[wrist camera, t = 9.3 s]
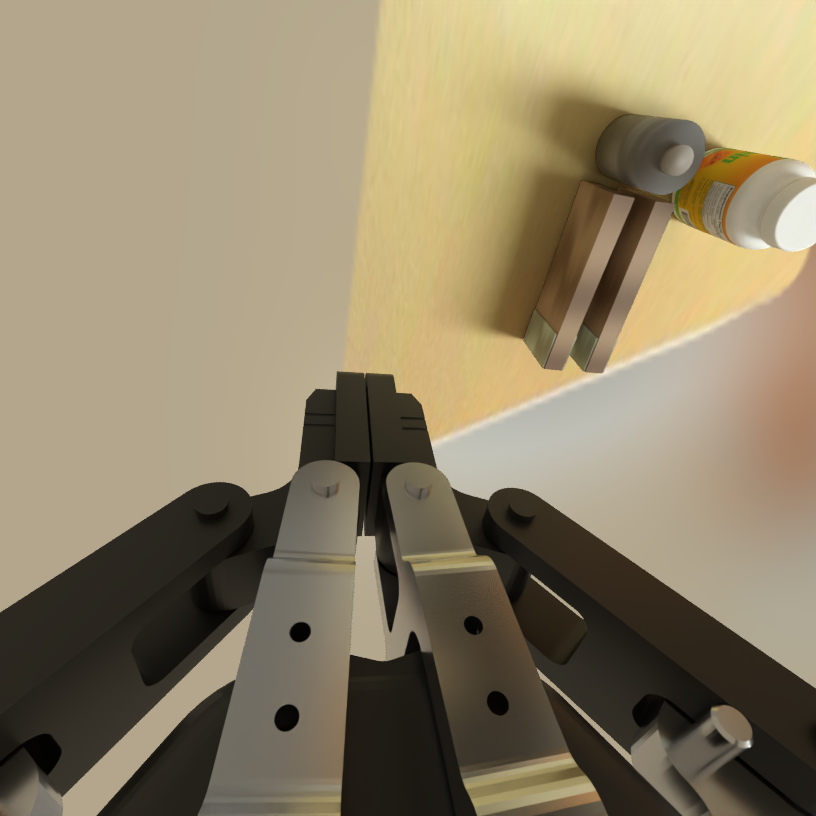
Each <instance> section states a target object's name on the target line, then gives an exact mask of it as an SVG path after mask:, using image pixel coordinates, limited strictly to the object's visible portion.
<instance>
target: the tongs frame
mask: <svg viewBox="0 0 816 816" xmlns="http://www.w3.org/2000/svg"><path fill="white" fill-rule="evenodd" d="M705 146H706V143H705V136H704V133H703V131H702V129H701V128H700V127H699V126H698V125H697V124H696V123H694V122H692V121H688V120H680V119H671V118H661V117H652V116H643V115H634V114H628V115H624V116H621V117H619V118H617V119H615V120H614V121H613V122H612V123H610V124H609V125H608V126H607V127H606V129H605V130H604V131H603V133H602V135H601V136H600V138H599V141H598V143H597V147H596V155H595V156H596V164H597V167H598V169H599V170H600V172H601V173H602V174H603V175H605V176H606V177H608V178H611V179H614V180H617V181H619V182H622V183H625V184H628V185H631V186H633V187H636V188H639V189H642V190H644V191H647V192H650V193H653V194H657V195H666V194H670V193H673V192H675V191H677V190H679V189H680V188H682V187H683V186H685V185H686V184H687V183H688V182H689V181H690V180H691V179H692V178H693V176H694V175H695V174H696V172H697V171H698V169H699V167H700V165H701V163H702V160H703V157H704V154H705ZM618 192H621V193H623V194H626V195H628V196H631V197H634V198H635V199H634V202H633V204H632V206H631V209H630V211H629V213H628V216H627V218H626V220H625V223H624V225H623V227H622V230H621V232H620V234H619V237H618V239H617V242H616V244H615V246H614V249H613V251H612V253H611V256H610V258H609V260H608V263H607V265H606V267H605V270H604V272H603V274H602V277H601V279H600V282H599V284H598V286H597V289H596V291H595V293H594V296H593V298H592V300H591V303H590V305H589V307H588V310H587V312H586V315H585V317H584V319H583V322H582V324H581V326H580V329H579V331H578V333H577V338H576V341H575V343H574V345H573V348H572V350H571V352H570V356H571V357H572V359H573V360H574V361H575V362H576V363H577V365H578V366H579V367H580V368H581V369H582V371H585V372H591V373H603V372H604V370H605V368H606V365H607V363H608V361H609V359H610V356H611V354H612V352H613V349H614V347H615V345H616V343H617V338H618V336H619V334H620V331H621V329H622V327H623V324H624V322H625V320H626V318H627V315H628V313H629V311H630V309H631V306H632V304H633V302H634V299H635V297H636V295H637V293H638V290H639V288H640V286H641V283H642V281H643V279H644V277H645V274H646V272H647V270H648V267H649V265H650V263H651V261H652V258H653V256H654V254H655V251H656V249H657V247H658V245H659V242H660V240H661V238H662V235H663V233H664V231H665V229H666V226H667V224H668V222H669V219H670V217H671V215H672V213H673V210H674V208H675V206H676V204H674V203H671V202H668V201H666V200H663V199H660V198H658V197H655V196H652V195H649V194H647V193H644V192H641V191H638V190H634V189H627V188H620V187H619V188H618Z"/></svg>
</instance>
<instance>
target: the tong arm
mask: <svg viewBox="0 0 816 816" xmlns="http://www.w3.org/2000/svg"><path fill="white" fill-rule="evenodd" d="M634 199H635V198H634V197H631V196H628V195H626V194H623V193H621V192H618V191H616V190H613V189H611V188H608V187H606V186H603V185H601V184H596V183H591V182H586V181H581V183H580V186H579V189H578V192H577V194H576V197H575V200H574V203H573V206H572V208H571V211H570V214H569V217H568V220H567V222H566V225H565V228H564V231H563V234H562V236H561V239H560V242H559V245H558V248H557V250H556V253H555V256H554V259H553V262H552V264H551V267H550V270H549V273H548V276H547V278H546V281H545V284H544V287H543V290H542V292H541V295H540V298H539V301H538V304H537V306H536V309H534V312H533V314H532V317H531V320H530V323H529V326H528V328H527V331H526V334H525V337H524V340H523V341H524V342H525V344H526V345H527V347H528V348H529V350H530V351H531V352H532V354H533V355H534V357H535V358H536V360H537V361H538V362H539V364H540V365H541V367H542V368H544V369H551V370H560V371H562V370H563V369H564V366H565V364H566V362H567V359H568V357H569V355H570V352H571V350H572V348H573V345H574V343H575V341H576V338H577V333H578V331H579V329H580V326H581V324H582V322H583V319H584V317H585V315H586V312H587V310H588V307H589V305H590V303H591V300H592V298H593V296H594V293H595V291H596V289H597V286H598V284H599V282H600V279H601V277H602V274H603V272H604V270H605V267H606V265H607V263H608V260H609V258H610V256H611V253H612V251H613V249H614V246H615V244H616V242H617V239H618V237H619V234H620V232H621V230H622V227H623V225H624V223H625V220H626V218H627V216H628V213H629V211H630V209H631V206H632V204H633V202H634Z"/></svg>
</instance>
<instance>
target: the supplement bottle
mask: <svg viewBox="0 0 816 816" xmlns="http://www.w3.org/2000/svg"><path fill="white" fill-rule="evenodd" d="M672 203H674V204H676V206H675V208H674V210H673V211H674V214H675V216H676V217H677V218H678V219H679V220H680V221H681V222H683V223H684V224H686V225H688V226H690V227H693V228H695V229H698V230H700V231H703V232H705V233H708V234H710V235H713V236H715V237H717V238H720V239H722V240H725V241H727V242H730V243H732V244H734V245H737V246H739V247H742V248H746V249H753V250H757V249H765V248H769V247H774V248H778V249H781V250H784V251H789V252H793V251H800V250H803V249H806V248H808V247H810V246H812V245H813V244H815V243H816V173H815V171H814V170H813V169H812V168H811V167H810V166H809V165H808V164H806V163H804V162H801V161H798V160H793V159H788V158H782V157H776V156H770V155H764V154H758V153H752V152H747V151H741V150H736V149H730V148H715V149H711V150H708V151H706V152H705V154H704V157H703V160H702V163H701V165H700V167H699V169H698V171H697V172H696V174H695V175H694V176H693V178H692V179H691V180H690V181H689V182H688V183H687V184H686V185H685V186H683V187H682V188H680V189H679V190H677V191H675V192H673V193H672Z"/></svg>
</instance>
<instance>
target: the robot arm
mask: <svg viewBox="0 0 816 816" xmlns="http://www.w3.org/2000/svg"><path fill="white" fill-rule="evenodd" d="M363 521H364V533H365V536H375V540H376V553H375V560H374V569H375V576H376V583H377V589H378V596H379V603H380V609H381V616H382V622H383V629H384V635H385V645H386V661H376V660H371V659H367V658H362V657H358V656H353V655H350V645H351V629H352V628H351V627H352V612H353V597H354V580H355V553H356V543H357V536H362V530H363ZM531 574H532V575H533V576H535V577H536V578H537V579H538V580H540V581H541V582H542V583H543V584H544V585H546V586H547V587H548V588H549V589H551V590H552V591H553V592H554V593H556V594H557V595H558V596H559V597H561V598H562V599H563V600H564V601H566V602H567V603H568V604H569V605H571V606H572V607H573V608H574V609H576V610H577V611H578V612H579V613H580V614H581V616H582V617H583V618H584V619H582V618H580V617H579V616H578V615H576V614H575V613H574V612H573V611H571V610H570V609H569V608H568V607H567V606H565V605H564V604H563V603H561V602H560V601H559V600H558V599H557V598H555V597H554V596H553V595H552V594H550V593H549V592H548V591H547V590H545V589H544V588H543V587H542V586H541V585H539V584H538V583H537V582H536V581H534V580H533V579H532V578H531ZM253 608H254V609H253ZM252 609H253V613H252V617H251V621H250V625H249V629H248V633H247V637H246V641H245V645H244V648H243V652H242V656H241V660H240V664H239V669H238V672H237V677H236V680H234V681H232V682H230V683H228V684H227V685H225V686H223V687H222V688H220V689H218V690H217V691H216V692H214V693H213V694H211V695H210V696H209V697H207V698H206V699H205V700H203V701H202V702H201V703H200V704H199V705H198V706H196V707H195V708H194V709H193V710H192V711H191V712H190V713H189V714H188V715H187V716H186V717H185V718H184V719H183V720H182V721H181V722H180V723H179V724H178V725H177V727H176V728H175V729H174V730H173V731H172V732H171V733H170V734H169V735H168V737H167V738H166V739H165V740H164V741H163V742H162V743H161V744H160V746H159V747H158V748H157V749H156V750H155V751H154V752H153V753H152V754H151V756H150V757H149V758H148V759H147V760H146V761H145V762H144V763H143V764H142V766H141V767H140V768H139V769H138V770H137V771H136V772H135V773H134V775H133V776H132V777H131V778H130V779H129V780H128V781H127V783H126V784H125V785H124V786H123V787H122V788H121V789H120V790H119V792H117V794H116V795H115V796H114V797H113V798H112V799H111V800H110V801H109V802H108V804H107V805H106V806H105V807H104V808H103V809H102V810H101V811H100V812H99V814H98V815H97V816H816V688H814V687H813V686H811V685H810V684H808V683H807V682H805V681H804V680H803V679H801V678H800V677H798V676H797V675H795V674H794V673H792V672H791V671H790V670H788V669H787V668H785V667H783V666H782V665H781V664H779V663H778V662H776V661H775V660H774V659H772V658H771V657H769V656H768V655H766V654H765V653H763V652H762V651H761V650H759V649H758V648H756V647H755V646H753V645H752V644H750V643H749V642H748V641H746V640H745V639H743V638H742V637H740V636H739V635H737V634H736V633H735V632H733V631H732V630H730V629H729V628H727V627H726V626H724V625H723V624H722V623H720V622H719V621H717V620H716V619H714V618H713V617H711V616H710V615H709V614H707V613H706V612H704V611H703V610H701V609H700V608H698V607H697V606H696V605H694V604H693V603H691V602H690V601H688V600H687V599H685V598H684V597H683V596H681V595H680V594H678V593H677V592H675V591H674V590H672V589H671V588H670V587H668V586H667V585H665V584H664V583H662V582H661V581H659V580H658V579H656V578H655V577H654V576H652V575H651V574H649V573H648V572H646V571H645V570H643V569H642V568H641V567H639V566H638V565H636V564H635V563H633V562H632V561H630V560H629V559H628V558H626V557H625V556H623V555H622V554H620V553H619V552H617V551H616V550H615V549H613V548H612V547H610V546H609V545H607V544H606V543H604V542H603V541H602V540H600V539H599V538H597V537H596V536H594V535H593V534H591V533H590V532H589V531H587V530H586V529H584V528H583V527H581V526H580V525H578V524H577V523H576V522H574V521H573V520H571V519H570V518H568V517H567V516H565V515H564V514H562V513H561V512H560V511H558V510H557V509H555V508H554V507H552V506H551V505H550V504H548V503H547V502H545V501H544V500H542V499H541V498H539V497H538V496H536V495H535V494H533V493H531V492H529V491H526V490H523V489H517V488H504V489H501V490H498V491H497V492H495V493H493V494H492V496H491V497H490V499H489V500H485V499H481V498H478V497H474V496H470V495H467V494H464V493H461V492H459V491H457V490H455V489H453V488H452V487H451V486H450V483H449V481H448V479H447V478H446V476H445V475H444V474H443V473H442V472H441V471H439V470H438V469H437V467H436V463H435V459H434V455H433V450H432V446H431V442H430V438H429V434H428V431H427V426H426V421H425V417H424V413H423V409H422V405H421V404H420V403H419V402H418V401H417V399H416V398H415V397H414V396H413V395H412V394H407V393H396V388H395V382H394V377H393V375H391V374H374V373H366V375H365V377H364V373H355V372H337V378H336V390H326V389H316V390H315V391H314V392H313V393H312V394H311V395H310V396H309V398H308V399H307V400H306V408H305V417H304V426H303V435H302V444H301V452H300V461H299V468H298V471H297V472H296V473H295V474H294V476H293V478H292V480H291V481H290V482H289V483H287V484H286V485H285V486H283V487H281V488H279V489H277V490H274V491H271V492H268V493H264V494H260V495H255V496H251V497H250V496H249V494H248V493H247V492H246V491H245V490H244V489H243V488H241V487H239V486H237V485H234V484H230V483H225V482H216V483H208V484H204V485H200V486H198V487H195V488H193V489H191V490H190V491H188V492H186V493H185V494H183V495H182V496H180V497H178V498H177V499H175V500H174V501H172V502H171V503H169V504H168V505H166V506H164V507H163V508H161V509H160V510H158V511H157V512H156V513H154V514H152V515H151V516H149V517H147V518H146V519H144V520H143V521H141V522H140V523H138V524H137V525H135V526H134V527H132V528H130V529H129V530H127V531H126V532H125V533H123V534H121V535H120V536H118V537H116V538H115V539H113V540H112V541H111V542H109V543H107V544H106V545H104V546H103V547H101V548H99V549H98V550H96V551H95V552H94V553H92V554H90V555H89V556H87V557H86V558H84V559H82V560H81V561H79V562H78V563H76V564H75V565H73V566H72V567H70V568H68V569H67V570H65V571H64V572H63V573H61V574H59V575H58V576H56V577H55V578H53V579H51V580H50V581H48V582H47V583H45V584H44V585H42V586H41V587H39V588H38V589H36V590H35V591H33V592H31V593H30V594H28V595H27V596H25V597H24V598H22V599H21V600H19V601H18V602H16V603H14V604H13V605H11V606H10V607H8V608H7V609H5V610H3V611H2V612H0V816H62V812H63V804H62V798H61V797H63V795H65V794H66V793H67V792H68V791H69V790H70V789H71V788H72V787H73V786H74V785H75V784H76V783H77V782H78V781H79V780H80V779H81V778H82V777H83V776H84V775H85V774H86V773H87V772H88V771H89V770H90V769H91V768H92V767H93V766H94V765H95V764H96V763H97V762H98V761H99V760H100V759H101V758H102V757H103V756H104V755H105V754H106V753H107V752H108V751H109V750H110V749H111V748H112V747H113V746H114V745H115V744H116V743H117V742H118V741H119V740H121V739H122V738H123V737H124V735H126V734H127V732H128V731H130V730H131V729H132V728H133V727H134V726H135V725H136V724H137V723H138V722H139V721H140V720H141V719H142V718H143V717H144V716H145V715H146V714H147V713H148V712H149V711H150V710H151V709H152V708H153V707H154V706H155V705H156V704H157V703H158V702H159V701H160V700H161V699H162V698H163V697H164V696H165V695H166V694H167V693H168V692H169V691H170V690H171V689H172V688H173V687H174V686H175V685H176V684H177V683H178V682H179V681H181V680H182V678H184V677H185V676H186V675H187V674H188V673H189V672H190V671H191V670H192V669H193V668H194V667H195V666H196V665H197V664H198V663H199V662H200V661H201V660H202V659H203V658H204V657H205V656H206V655H207V654H208V653H209V652H210V651H211V650H212V649H213V648H214V647H215V646H216V645H217V644H218V643H219V642H220V641H221V640H222V639H223V638H224V637H225V636H226V635H227V634H228V633H229V632H230V631H231V630H232V629H233V628H234V627H235V626H236V625H237V624H238V623H240V621H242V620H243V619H244V618H245V617H246V616H247V615H248V614H249V613H250V611H251V610H252ZM536 668H538V669H539V670H540V671H541V672H542V673H543V674H544V675H545V676H546V677H547V678H548V679H550V681H551V682H553V683H554V684H555V685H556V686H557V687H558V688H559V689H560V690H561V691H562V692H563V693H564V694H565V695H567V696H568V697H569V698H570V699H571V700H572V701H573V702H574V703H575V704H576V705H577V706H578V707H580V708H581V709H582V710H583V711H584V712H585V713H586V714H587V715H588V716H589V717H590V718H591V719H592V720H594V721H595V722H596V723H597V724H598V725H599V726H600V727H601V728H602V729H603V730H604V731H605V732H606V733H608V734H609V735H610V736H611V737H612V738H613V739H614V740H615V741H616V742H617V743H618V744H619V745H620V746H622V747H623V748H624V749H625V750H626V751H627V752H628V753H629V754H630V755H631V758H632V763H633V766H632V765H631V764H630V763H629V762H628V761H627V760H625V758H624V757H623V756H621V754H620V753H619V752H618V751H617V750H616V749H614V747H613V746H612V745H610V744H609V743H608V742H607V741H606V740H605V739H604V738H603V737H602V736H601V735H600V734H599V733H598V732H597V731H596V730H595V729H594V728H593V727H592V726H591V725H590V724H589V723H588V722H587V721H586V720H585V719H584V718H583V717H582V716H581V715H580V714H579V713H578V712H577V711H576V710H575V709H574V708H573V707H572V706H571V705H570V704H569V703H568V702H567V701H566V700H565V699H564V698H563V697H562V696H561V695H560V694H559V693H558V692H556V691H555V690H554V689H553V688H552V687H550V686H549V685H548V684H547V683H545V682H544V681H543V680H541V679H540V677H539V674H538V672H537V669H536Z"/></svg>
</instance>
